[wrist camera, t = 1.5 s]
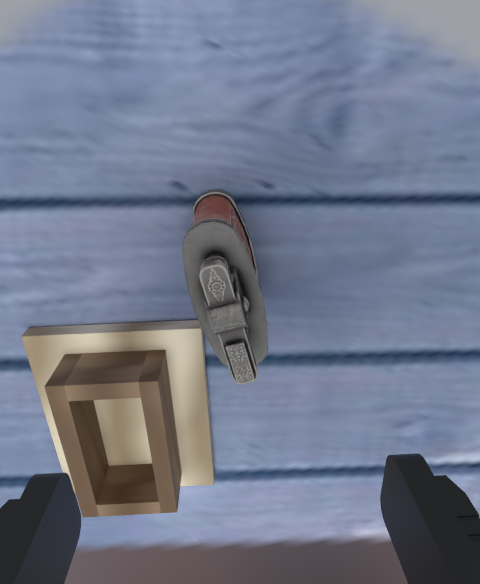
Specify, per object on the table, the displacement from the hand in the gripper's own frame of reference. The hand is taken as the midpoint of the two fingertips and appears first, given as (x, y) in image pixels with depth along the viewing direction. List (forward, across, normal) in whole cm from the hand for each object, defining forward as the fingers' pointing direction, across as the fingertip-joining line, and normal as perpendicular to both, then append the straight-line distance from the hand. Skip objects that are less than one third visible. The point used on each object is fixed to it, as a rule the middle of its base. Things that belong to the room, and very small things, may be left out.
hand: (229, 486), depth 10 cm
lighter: (+18, 0, 0) cm, 18 cm away
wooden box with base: (+18, +8, +12) cm, 23 cm away
